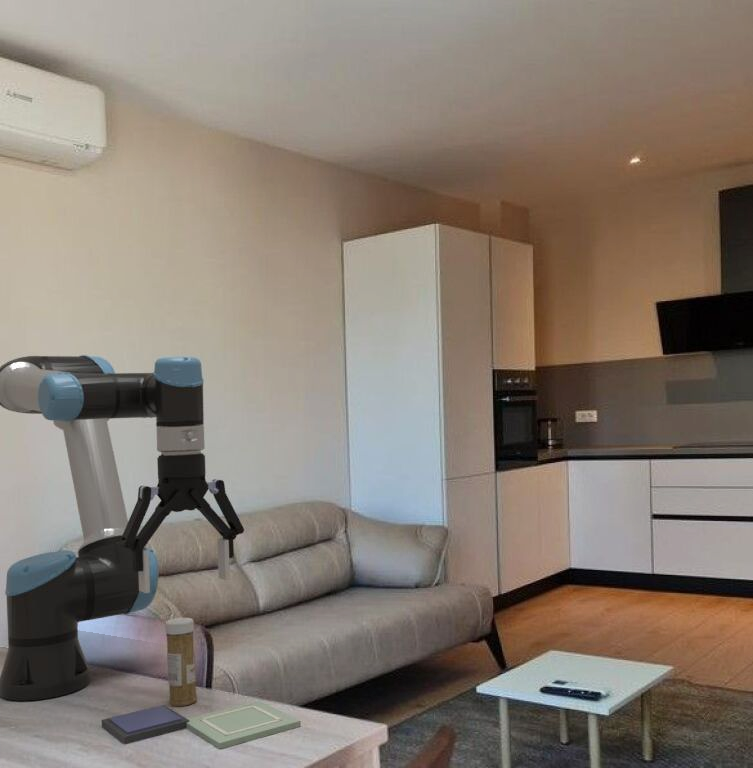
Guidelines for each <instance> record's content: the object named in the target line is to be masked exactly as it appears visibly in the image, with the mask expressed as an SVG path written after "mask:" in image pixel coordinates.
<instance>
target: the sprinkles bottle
mask: <svg viewBox="0 0 753 768" xmlns="http://www.w3.org/2000/svg"><path fill="white" fill-rule="evenodd" d="M164 626H165V634H166V643H167V644H166V645H167V646H166V647H167V653H166V655H167V674H168V675H167V677H168V678H167V679H168V685H169V687H168V688H169V689H168V690H169V700H168V703H169V705H171V706H173V707H186V706H190V705H192V704H194V703H196V702H197V700H198V697H197V689H196V687H197V685H196V679H197V678H196V663H195V661H196V659H195V650H194V631H195V622H194V619H193V618H191V617H175V618H172V619H168V620H166V621H165V625H164Z"/></svg>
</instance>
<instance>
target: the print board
mask: <svg viewBox="0 0 753 768" xmlns="http://www.w3.org/2000/svg"><path fill="white" fill-rule="evenodd" d="M187 719H188V720H189V722H187V723H186V726H187V728H186V729H188V730H189V731H191V732H192V733H194V734H195V735H197V736H199V737H200V738H202V739H203V740H205V741H206V742H207V743H209V744H211V745H213V746H214V747H216V748H217V749H219V750H222V749H224V748H225V749H226V748H229V747H233V746H236V745H239V744H242V743H246V742H247V743H248V742H250V741H253V740H257V739H261V738H264V737H268V736H271V735H275V734H277V733H281V732H285V731H289V730H293V729H296V728H298V727H299V728H301V725H302V724H301V720H300V719H298V718H295V717H294V716H292V715H290V714H287V713H286V712H285V711H284V712H283V711H282V710H280V709H277V708H275V707H274V706H271V705H269V704H267V703H265V702H263V701H262V700H256V701H252V702H248V703H244V704H240V705H235V706H232V707H228V708H225V709H221V710H220V709H219V710H216V711H213V712H210V713H209V712H208V713H204V714H202V715H198V716H193V717H189V718H187Z"/></svg>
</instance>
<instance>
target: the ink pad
mask: <svg viewBox="0 0 753 768" xmlns="http://www.w3.org/2000/svg"><path fill="white" fill-rule="evenodd" d="M188 719H189V718H186V717H185V716H183V715H182V714H180V713H178V712H177V711H175V710H173V709H171V708H170V707H169V706H167V705H165V704H161V705H156V706H152V707H149V708H144V709H141V710H140V709H139V710H136V711H131V712H128V713H123V714H118V715H115V716H110V717H109V718H104V719H101V727H102V728H103V729H104V730H105V731H107V732H108V733H110V735H112V736H113V737H115V738H116V739H117V740H119V742H121V743H122V744H123V745H127V744H131V743H134V742H138V741H143V740H145V739H150V738H153V737H154V738H155V737H157V736H161V735H164V734H169V733H173V732H177V731H180V730H181V731H182V730H185V729H187V726H186V723H187V722H189V720H188Z"/></svg>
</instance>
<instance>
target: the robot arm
mask: <svg viewBox="0 0 753 768" xmlns="http://www.w3.org/2000/svg"><path fill="white" fill-rule="evenodd" d="M153 369H154V371H153V372H135V373H134V372H127V373H126V372H124V373H123V372H121V373H116V371H115V369H114V368H113V366H112V365H111V363H110V362H109V361H108V360H106V359H104V358H103V357H101V356H89V355H85V354H83V355H79V356H75V355H74V356H71V355H70V356H69V355H68V356H67V355H65V356H64V355H63V356H61V355H55V356H54V355H27V356H22V357H18V358H14V359H12V360H9V361H6V363H4V364H2V365H0V407H1V408H3V409H5V410H7V411H10V412H13V413H14V412H15V413H19V414H20V413H21V414H33V415H37V414H38V415H39V414H40V415H41V414H42V417H43V418H44V419H45V420H47V421H52V422H53V424H54V426H55V427H56V428H58V429H59V430H62V431H63V436H64V442H65V448H66V452H67V457H68V463H69V467H70V473H71V478H72V483H73V489H74V492H75V493H74V494H75V499H76V504H77V510H78V514H79V515H78V516H79V520H80V525H81V526H80V527H81V532H82V535H83V542H82V543H81V545H80V546H79V547H78V550H77V555H78V557H77V555H76V554H75V552H74V551H73V550H70V549H69V550H66V549H65V550H64V549H63V550H58V551H57V550H56V551H49V552H44V553H39V554H37V555H32V556H29V557H26V558H24V559H20V560H18V561H16V562H14V563H13V564H12V565H10V567H9V568H8V570H7V571H6V581H5V582H6V584H5V591H4V592H5V593H4V594H5V596H6V612H7V613H6V615H7V618H6V619H7V637H8V638H7V641H8V642H7V643H8V648H7V653H6V656H5V659H4V663H3V666H2V670H1V672H0V698H2V699H5V700H7V701H8V700H9V701H25V702H26V701H38V700H46V699H51V698H57V697H60V696H65V695H68V694H71V693H74V692H77V691H79V690H81V689H84V688H85V687H87V685H89V684H90V681H91V676H90V668H89V665H88V663H87V660H86V656H85V655H84V652H83V651H84V650H83V649H82V647H81V644H80V640H79V634H78V633H79V632H78V623H80V622H81V623H82V622H86V621H91V620H92V621H93V620H99V619H104V618H108V617H115V616H119V615H129V614H131V613H134V612H137V611H138V612H139V611H142V610H145V609H147V608H148V607H150V605H151V604H152V603H153V601H154V598H156V594H157V589H158V585H159V574H160V573H159V563H158V562H159V561H158V557H157V555H156V553H155V551H154V550H153V549H152V548H151V547H148V546H147V544H148V543H149V542H150V540H151V539H152V537H153V536H154V534H155V533H156V531H158V529H159V527H160V526H161V525H162V523H163V522H164V520H165V519H166V518H167V517H168V516H169V515H170V514H171V513H172V512H173V513H174V512H175V513H178V512H179V513H180V512H183V511H189V512H190V511H195V510H197V511H198V512H200V513H201V514H202V516H204V518H205V519H206V520H207V521H208V522H209V524H210V525H211V526H212V527H213V528H214V529H215V530H216V531H217V532H218V534H219V535H220V536H221V538H217V541H216V543H217V567H218V579H220V580H223V581H229V580H230V579H231V573H230V572H231V571H230V559H232V558H234V555H235V554H234V553H235V552H234V540H235V539H236V538H237V536H238V535H242V534H243V533H245V528H244V527H243V524H242V522H241V520H240V518H239V517H238V514H237V512H236V511H235V508H234V507H233V505H232V502H231V501H230V499H229V496H228V495H227V493H226V486H225V482H224V479H223V480H222V479H215V478H214V479H212V480H211V481H208V482H207V479H206V473H207V472H206V455H205V454H204V453H202V451H203V450H204V449H205V447H206V446H205V423H204V420H205V419H204V416H205V415H204V378H203V372H202V371H203V369H202V362H201V361H200V359H198V357H192V356H171V357H161V358H158V359H156V361H155V363H154V368H153ZM132 418H133V419H134V418H137V419H138V418H141V419H145V418H146V419H147V418H151V419H152V418H155V420H156V421H155V422H156V423H155V426H156V451H157V452H159V453H160V455H158V457H157V459H156V461H157V479H158V482H157V485H156V486H147V485H140V486H139V487H138V490H137V493H138V494H137V501H136V503H135V506H134V507H133V510H132V512H131V515H130V517H129V519H128V514H127V509H126V505H125V500H124V496H123V491H122V486H121V481H120V477H119V472H118V467H117V464H116V459H115V453H114V450H113V449H114V448H113V444H112V440H111V439H112V438H111V434H110V431H109V430H110V429H109V425H108V422H109V421H110V419H132ZM208 491H209V492H210V494H212V495H213V498H214V500H215V502H216V504H217V506H218V507H219V509H220V511H221V513H222V515H223V518H224V519H225V521H226V522H227V524H226V522H224V520H223V519H222V518H221V517H220V516H219V515H218V514H217V513H216V511H215V510H214V509H213V508H212V507H211V504H210V503H209V502H208V501H207V500H206V499H205V498H204V497H205V496H206V494H207V492H208ZM155 496H157V497H158V498H159V499H160V501H159V503H158V504H157V506H156V507H155V509H154V512H153V513H152V514H151V515H150V516H149V518H148V519H147V521H146V522H145V524H144V525H143V527H142V528H141V526H142V523H143V522H144V519H145V516H146V514H147V512H148V510H149V507H150V504H151V501H153V499H154V498H155ZM140 528H141V529H140Z"/></svg>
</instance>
